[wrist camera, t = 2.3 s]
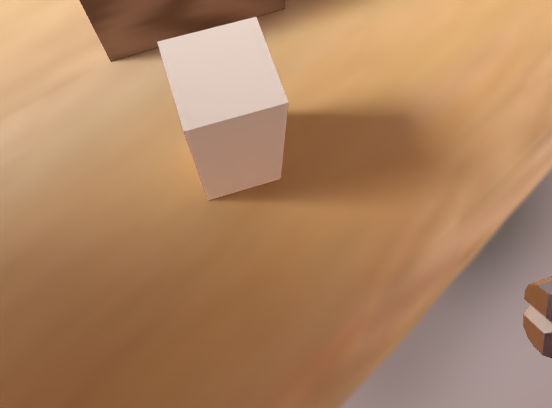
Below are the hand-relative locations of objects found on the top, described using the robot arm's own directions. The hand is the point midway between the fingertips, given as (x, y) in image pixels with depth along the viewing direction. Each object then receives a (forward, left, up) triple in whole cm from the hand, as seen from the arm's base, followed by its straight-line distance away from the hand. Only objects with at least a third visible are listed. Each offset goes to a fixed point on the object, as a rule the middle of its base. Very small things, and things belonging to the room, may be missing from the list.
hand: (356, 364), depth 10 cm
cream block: (0, +12, -16) cm, 20 cm away
